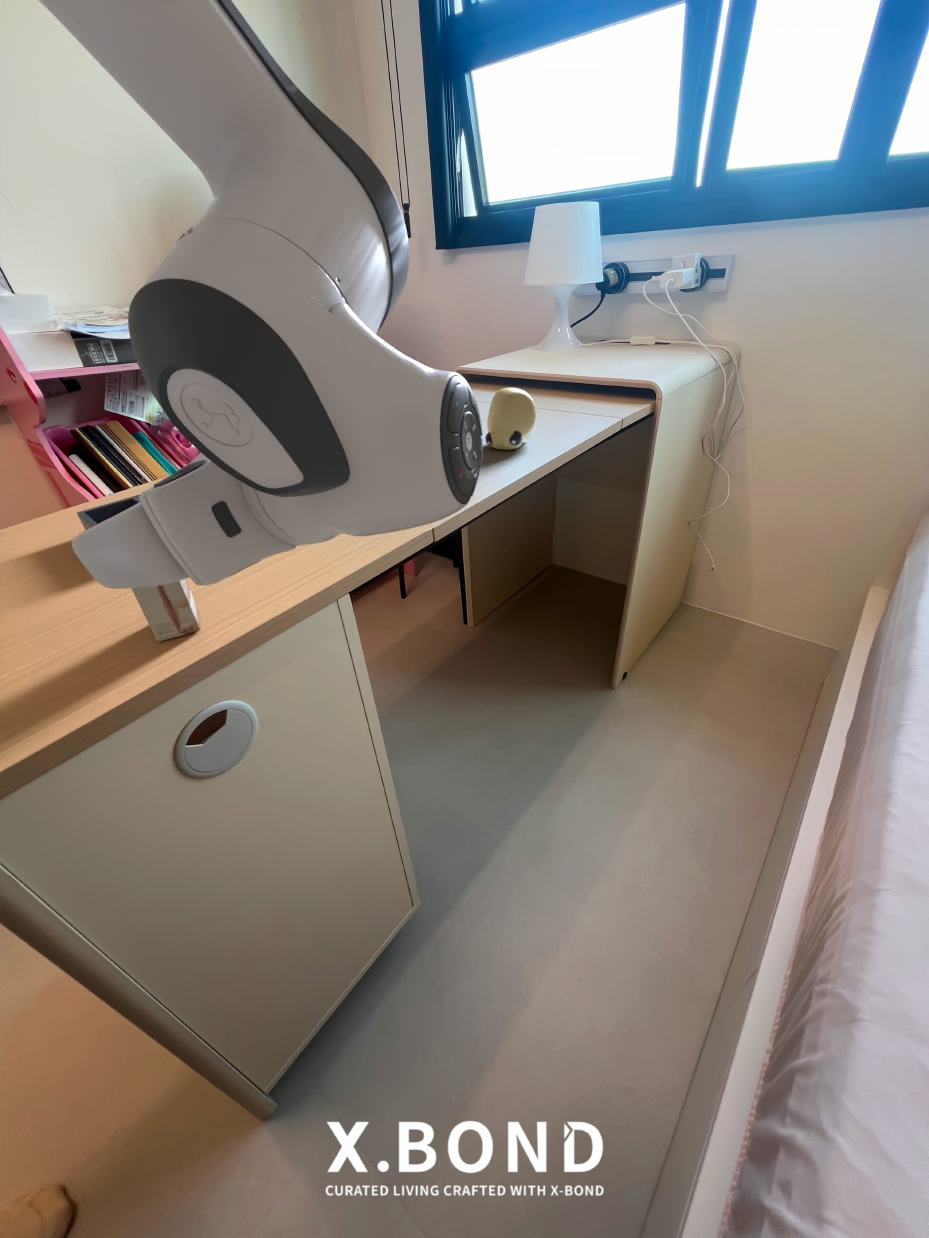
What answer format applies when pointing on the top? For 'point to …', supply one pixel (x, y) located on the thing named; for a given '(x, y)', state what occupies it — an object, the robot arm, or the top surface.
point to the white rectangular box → (169, 609)
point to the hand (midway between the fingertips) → (160, 512)
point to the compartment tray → (105, 511)
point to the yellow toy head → (510, 419)
